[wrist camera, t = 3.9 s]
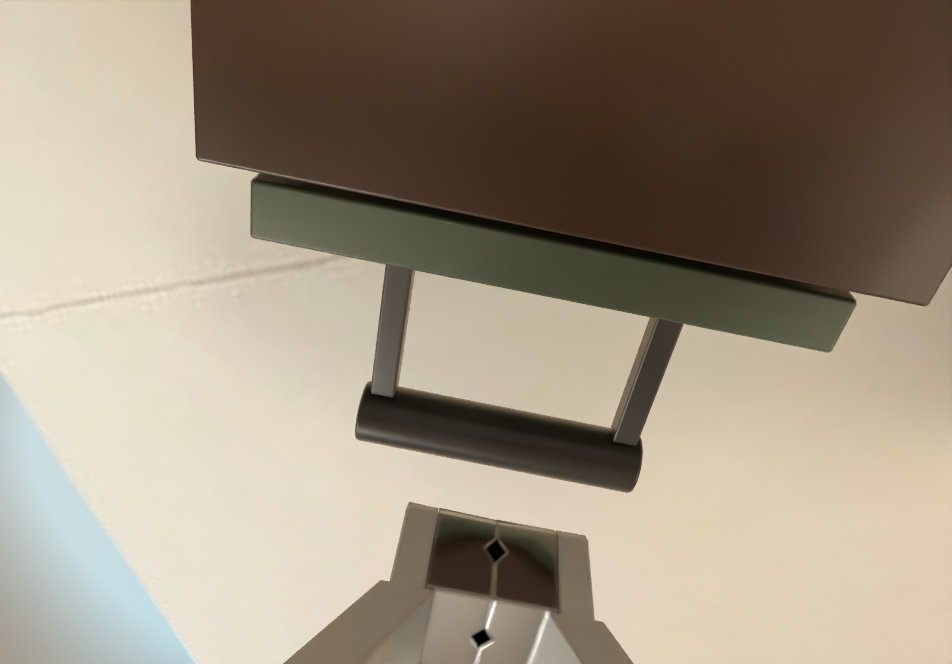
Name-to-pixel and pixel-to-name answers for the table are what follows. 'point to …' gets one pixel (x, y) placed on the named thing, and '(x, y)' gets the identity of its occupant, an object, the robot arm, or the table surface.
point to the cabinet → (612, 121)
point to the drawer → (543, 273)
